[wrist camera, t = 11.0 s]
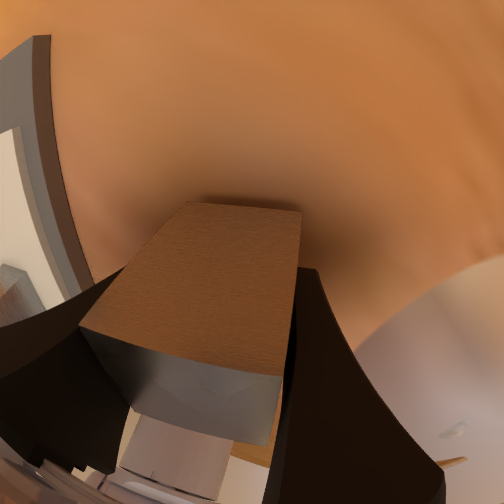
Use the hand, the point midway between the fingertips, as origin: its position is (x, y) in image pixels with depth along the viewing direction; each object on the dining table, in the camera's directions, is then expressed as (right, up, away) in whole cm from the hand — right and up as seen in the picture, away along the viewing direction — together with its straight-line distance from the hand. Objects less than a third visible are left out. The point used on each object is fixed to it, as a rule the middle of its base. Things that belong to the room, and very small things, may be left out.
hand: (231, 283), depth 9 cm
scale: (-16, +4, +5) cm, 17 cm away
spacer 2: (0, +1, +1) cm, 2 cm away
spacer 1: (-17, -2, +6) cm, 18 cm away
